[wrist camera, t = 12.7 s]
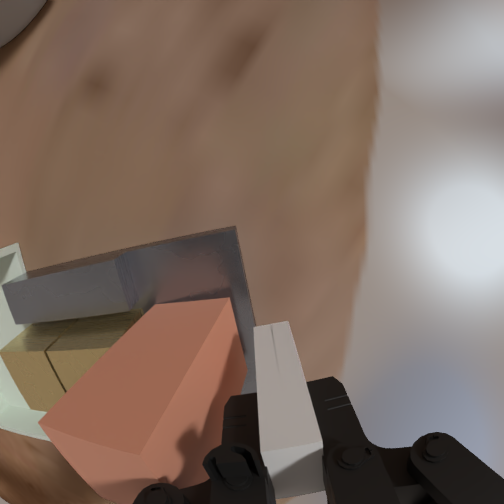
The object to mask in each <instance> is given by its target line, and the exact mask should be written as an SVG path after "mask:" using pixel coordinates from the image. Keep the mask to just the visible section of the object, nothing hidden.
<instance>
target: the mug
mask: <svg viewBox="0 0 504 504" xmlns="http://www.w3.org/2000/svg"><path fill="white" fill-rule="evenodd" d="M46 1H47V0H0V47H2V46H4V45H5V44H7V43H8V42H10V41H11V40H12V39H13V38H15V37H16V36H17V35H18V34H19V33H20V32H21V31H22V30H23V29H24V28H25V27H26V26H27V25H28V24H29V23H30V22H31V21H32V20H33V18H34V17H35V16H36V15H37V14H38V12H39V11H40V10H41V8H42V7H43V6H44V4H45V3H46Z"/></svg>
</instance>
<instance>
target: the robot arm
mask: <svg viewBox="0 0 504 504" xmlns="http://www.w3.org/2000/svg"><path fill="white" fill-rule="evenodd" d="M253 329H254V347H255V365H256V383H257V392H255V393H248V394H241V395H234V396H230V398H229V400H228V401H227V403H226V404H225V406H224V414H223V419H224V420H223V429H222V440H221V445H219V446H218V447H216V448H214V449H212V450H211V451H210V452H209V453H208V454H207V455H206V456H205V458H204V460H203V463H202V465H203V467H204V469H205V470H206V472H207V474H208V476H209V477H210V479H208V480H207V481H205V482H203V483H200V484H197V485H194V486H190V487H186V488H182V489H178V488H177V487H176V486H174V485H171V484H169V483H156V484H151V485H149V486H147V487H145V488H144V489H142V491H141V492H140V493H139V494H138V495H137V497H136V498H135V500H134V502H133V503H132V504H276V500H275V498H276V499H280V498H287V497H293V496H299V495H305V494H310V493H315V492H319V491H324V490H325V491H326V495H327V501H328V504H504V479H503V478H502V477H501V476H499V475H498V474H497V473H495V471H493V470H492V469H491V468H490V467H488V466H487V465H486V464H485V463H484V462H482V461H481V460H480V459H479V458H478V457H476V456H475V455H474V454H473V453H471V452H470V451H469V450H468V449H466V448H465V447H464V446H463V445H462V444H460V443H459V442H458V441H457V440H456V439H455V438H453V437H452V436H450V435H448V434H446V433H440V432H435V433H428V434H426V435H424V436H422V437H420V438H419V439H418V440H417V441H416V442H415V443H414V444H413V446H412V447H404V448H392V449H391V448H382V447H378V446H376V445H374V444H372V443H371V442H370V441H369V440H368V439H367V438H366V436H365V434H364V432H363V430H362V427H361V425H360V423H359V420H358V418H357V416H356V414H355V411H354V409H353V407H352V405H351V402H350V400H349V397H348V396H347V393H346V391H345V388H344V386H343V384H342V383H341V382H339V381H338V380H337V379H335V378H334V377H333V376H332V377H327V378H323V379H319V380H314V381H310V382H306V380H305V377H304V373H303V370H302V366H301V363H300V360H299V356H298V353H297V349H296V346H295V342H294V339H293V336H292V332H291V329H290V325H289V322H288V321H284V322H279V323H274V324H269V325H263V326H258V327H253Z"/></svg>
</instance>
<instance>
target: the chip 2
mask: <svg viewBox="0 0 504 504" xmlns="http://www.w3.org/2000/svg"><path fill="white" fill-rule="evenodd" d="M143 315H144V312H143V309H142V308H138V309H132V310H130V311H126V312H119V313H112V314H105V315H97V316H89V317H81V318H80V319H79V320H78V321H77V322H76V323H75V324H74V325H72V326H71V327H70V328H69V329H68V330H67V331H66V332H65V333H64V334H63V335H62V336H61V337H60V338H59V339H58V340H57V341H56V342H55V343H54V344H53V345H52V346H51V347H50V348H49V349H48V350H47V351H46V352H47V354H48V356H49V359H50V361H51V363H52V365H53V367H54V369H55V370H56V372H57V374H58V376H59V378H60V380H61V382H62V384H63V385H64V387H65V389H66V391H68V390H69V389H70V388H71V387H72V386H73V385H74V384H75V383H76V382H77V381H78V380H79V379H80V378H81V377H82V376H83V375H84V374H85V373H86V372H87V371H88V370H89V369H90V368H91V367H92V366H93V365H94V364H95V363H96V362H97V361H98V360H99V359H100V358H101V357H102V356H103V355H104V354H105V353H106V352H107V351H108V350H109V349H110V348H111V347H112V346H113V345H114V344H115V343H116V342H117V341H118V340H119V339H120V338H121V337H122V336H123V335H124V334H125V333H126V332H127V331H128V330H129V329H130V328H131V327H132V326H133V325H134V324H135V323H136V322H137V321H138V320H139V319H140V318H141V317H142V316H143Z"/></svg>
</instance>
